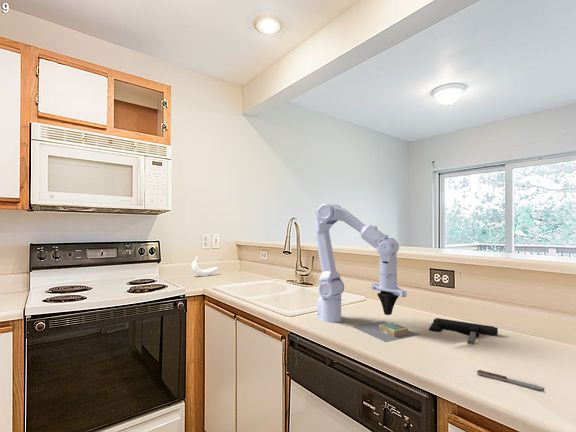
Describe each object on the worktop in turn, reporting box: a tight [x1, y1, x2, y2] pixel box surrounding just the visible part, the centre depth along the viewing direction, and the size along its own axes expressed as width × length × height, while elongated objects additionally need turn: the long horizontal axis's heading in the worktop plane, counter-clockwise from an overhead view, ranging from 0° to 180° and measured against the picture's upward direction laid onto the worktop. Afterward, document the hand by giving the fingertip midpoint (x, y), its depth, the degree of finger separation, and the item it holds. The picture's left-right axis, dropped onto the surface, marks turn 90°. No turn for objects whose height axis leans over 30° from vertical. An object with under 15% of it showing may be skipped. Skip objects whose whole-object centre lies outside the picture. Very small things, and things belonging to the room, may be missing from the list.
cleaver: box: [476, 369, 545, 391], centre depth 81 cm, size 13×2×5 cm
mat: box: [351, 320, 421, 343], centre depth 114 cm, size 17×15×1 cm
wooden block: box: [379, 322, 409, 337], centre depth 112 cm, size 2×6×7 cm
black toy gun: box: [428, 317, 499, 346], centre depth 113 cm, size 3×20×16 cm
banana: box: [190, 255, 219, 277], centre depth 229 cm, size 5×19×15 cm, turn 134°
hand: (387, 314), depth 114 cm, fingers closed
